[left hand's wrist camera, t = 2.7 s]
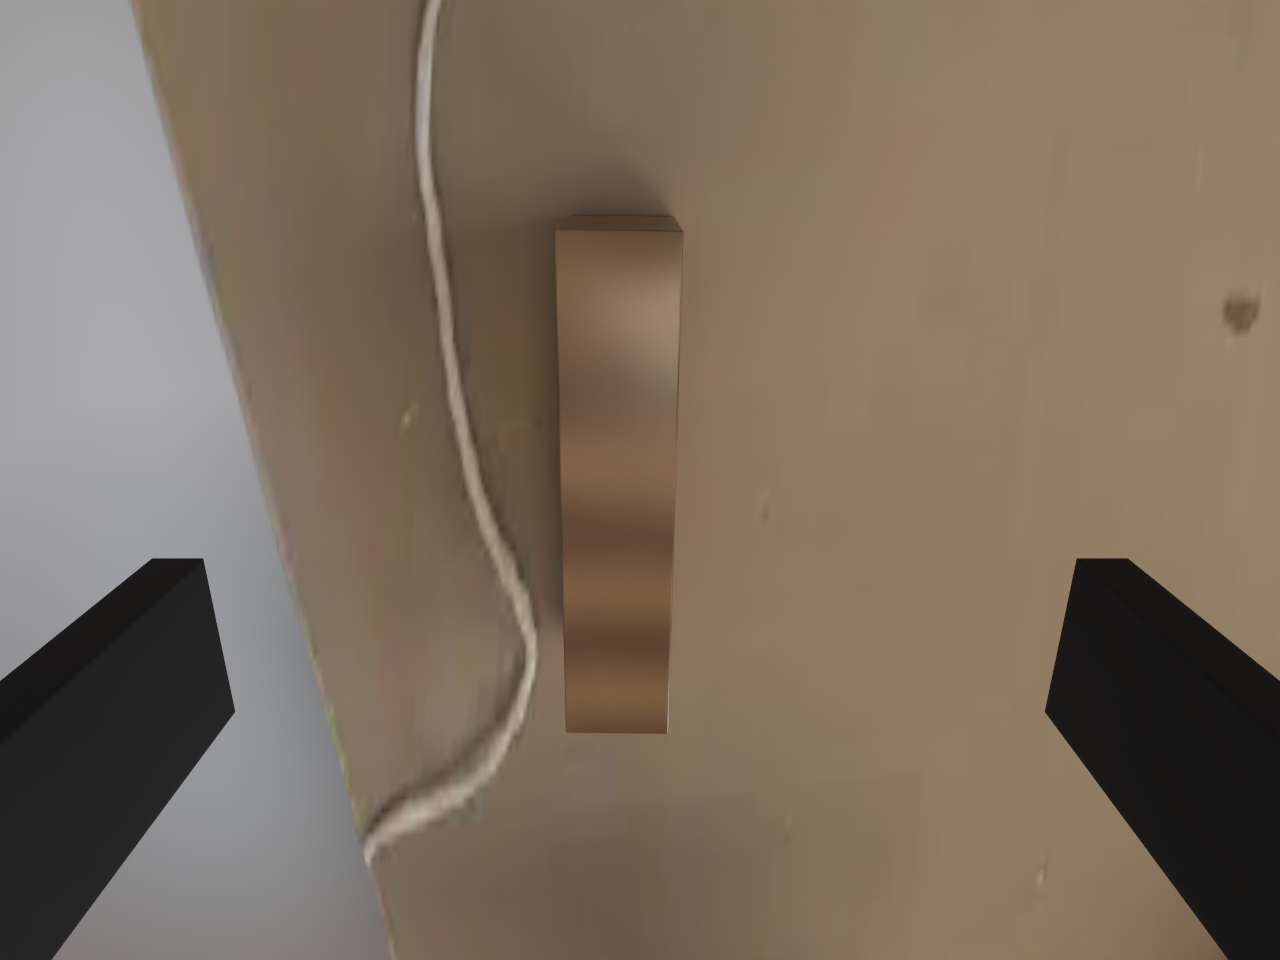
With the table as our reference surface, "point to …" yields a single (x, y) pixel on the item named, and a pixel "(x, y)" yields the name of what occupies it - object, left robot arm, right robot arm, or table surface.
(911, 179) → the table surface
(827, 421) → the table surface
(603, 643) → the brown wooden block
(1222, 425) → the table surface
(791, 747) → the table surface
